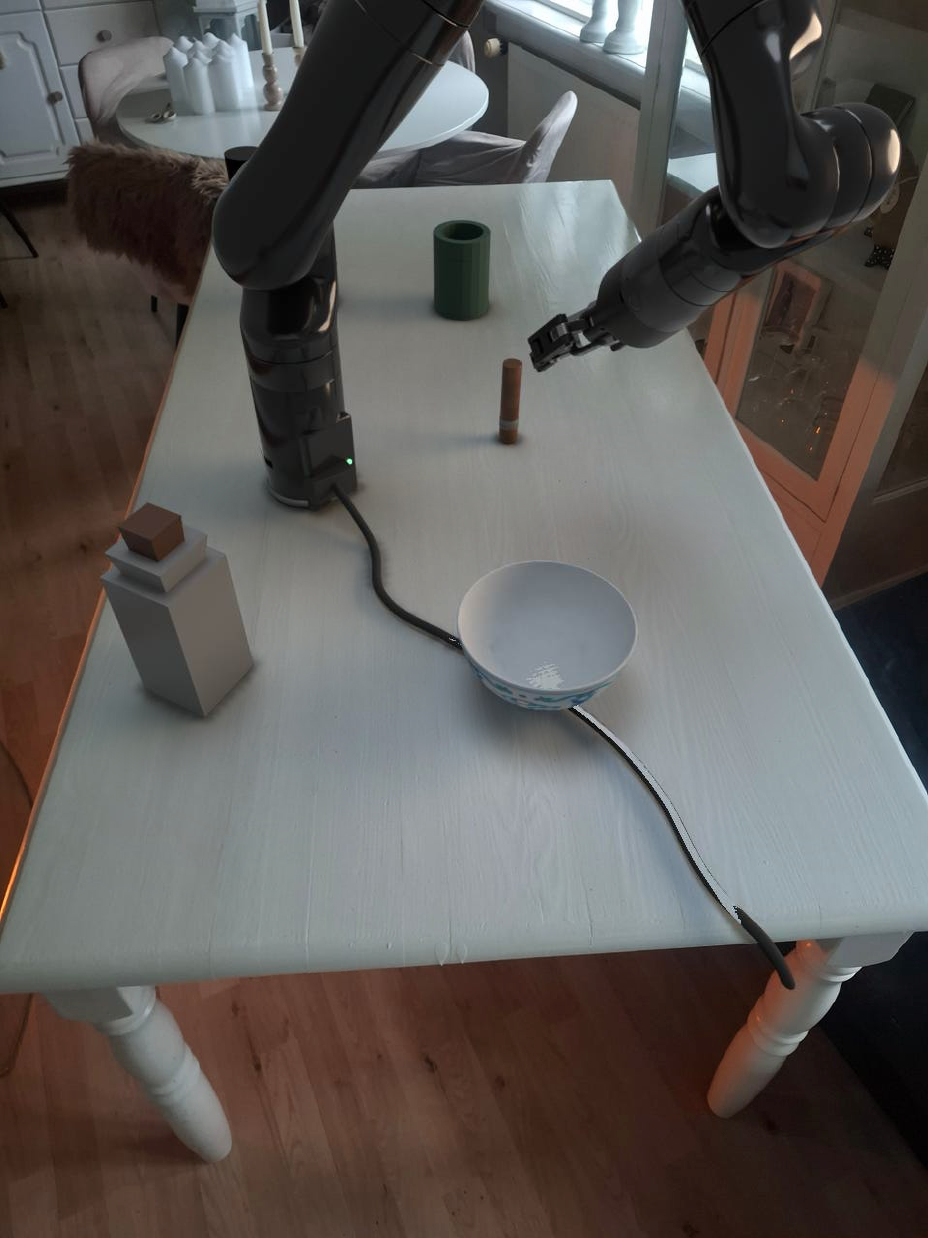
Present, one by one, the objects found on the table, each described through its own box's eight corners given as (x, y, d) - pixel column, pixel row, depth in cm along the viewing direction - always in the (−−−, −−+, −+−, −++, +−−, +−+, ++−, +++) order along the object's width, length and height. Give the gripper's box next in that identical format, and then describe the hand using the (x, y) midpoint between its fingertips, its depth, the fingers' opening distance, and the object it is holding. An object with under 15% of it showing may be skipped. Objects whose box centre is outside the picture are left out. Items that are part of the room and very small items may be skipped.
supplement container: (226, 219, 147) (214, 153, 139) (257, 207, 150) (247, 142, 143) (252, 230, 144) (242, 163, 136) (283, 218, 147) (274, 152, 140)
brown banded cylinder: (521, 438, 103) (527, 363, 96) (508, 446, 102) (513, 370, 95) (507, 430, 104) (511, 355, 97) (494, 438, 103) (497, 362, 96)
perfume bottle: (144, 688, 76) (81, 532, 63) (195, 638, 80) (145, 482, 67) (205, 717, 74) (152, 562, 61) (253, 664, 78) (214, 509, 65)
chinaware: (522, 596, 85) (527, 537, 79) (655, 672, 78) (671, 612, 72) (421, 687, 76) (419, 628, 71) (560, 780, 70) (570, 722, 64)
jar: (498, 307, 126) (502, 231, 118) (461, 325, 122) (462, 248, 114) (460, 290, 130) (461, 214, 122) (423, 307, 126) (421, 230, 118)
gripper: (721, 221, 71) (622, 298, 86) (574, 255, 66) (497, 330, 81) (749, 310, 71) (646, 371, 86) (605, 350, 67) (523, 407, 82)
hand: (574, 351), depth 84 cm, fingers open, 8 cm apart
